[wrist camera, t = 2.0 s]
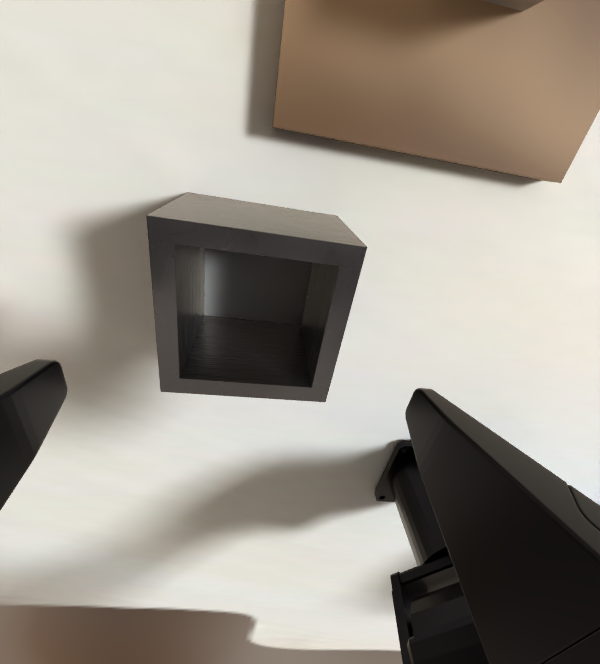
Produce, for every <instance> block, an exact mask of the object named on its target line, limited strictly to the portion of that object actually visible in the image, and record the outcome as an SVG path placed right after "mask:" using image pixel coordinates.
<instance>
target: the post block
mask: <svg viewBox="0 0 600 664" xmlns="http://www.w3.org/2000/svg"><path fill="white" fill-rule="evenodd" d="M599 110H600V0H285V7H284V18H283V28H282V38H281V48H280V58H279V68H278V79H277V89H276V99H275V109H274V119H273V128H277V129H282V130H287V131H293V132H298V133H303V134H308V135H313V136H318V137H323V138H328V139H333V140H338V141H344V142H349V143H354V144H359V145H364V146H369V147H374V148H379V149H384V150H390V151H395V152H400V153H405V154H410V155H415V156H420V157H425V158H430V159H435V160H441V161H446V162H451V163H456V164H461V165H466V166H471V167H476V168H481V169H486V170H492V171H497V172H502V173H507V174H512V175H517V176H522V177H527V178H532V179H537V180H543V181H550V182H558V183H561V182H562V180H563V178H564V176H565V174H566V172H567V171H568V169H569V167H570V165H571V163H572V161H573V159H574V157H575V155H576V153H577V151H578V150H579V148H580V146H581V144H582V142H583V140H584V138H585V136H586V134H587V132H588V131H589V129H590V127H591V125H592V123H593V121H594V119H595V117H596V115H597V113H598V112H599Z"/></svg>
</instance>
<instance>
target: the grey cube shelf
mask: <svg viewBox="0 0 600 664" xmlns="http://www.w3.org/2000/svg"><path fill="white" fill-rule="evenodd" d="M147 228H148V240H149V252H150V265H151V277H152V290H153V302H154V314H155V327H156V339H157V352H158V364H159V376H160V389H161V392H175V393H191V394H206V395H222V396H238V397H254V398H269V399H285V400H301V401H316V402H326V398H327V395H328V391H329V387H330V383H331V380H332V376H333V372H334V368H335V365H336V361H337V357H338V354H339V350H340V346H341V342H342V339H343V335H344V331H345V328H346V324H347V320H348V316H349V313H350V309H351V305H352V301H353V298H354V294H355V290H356V287H357V283H358V279H359V275H360V272H361V268H362V264H363V261H364V257H365V253H366V249H367V246H366V245H365V244H364V243H363V242H362V241H361V240H360V239H359V238H358V237H357V236H356V235H355V234H354V233H353V232H352V231H351V230H350V229H349V228H348V227H347V226H346V225H345V224H344V223H343V222H342V220H341V219H340V218H339V217H338V216H334V215H328V214H322V213H315V212H309V211H303V210H296V209H290V208H284V207H277V206H271V205H265V204H258V203H252V202H246V201H239V200H233V199H227V198H220V197H214V196H208V195H201V194H195V193H189V192H187V193H186V194H184V195H182V196H180V197H178V198H177V199H175V200H173V201H171V202H169V203H168V204H166V205H164V206H162V207H160V208H159V209H157V210H155V211H153V212H151V213H150V214H148V215H147ZM205 248H208V249H216V250H223V251H231V252H238V253H246V254H253V255H261V256H268V257H276V258H283V259H291V260H298V261H306V262H313V264H312V269H311V274H310V280H309V285H308V290H307V296H306V301H305V307H304V312H303V317H302V323H301V325H293V324H283V323H273V322H263V321H253V320H243V319H233V318H223V317H213V316H204V260H205Z"/></svg>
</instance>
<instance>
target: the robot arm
mask: <svg viewBox="0 0 600 664" xmlns="http://www.w3.org/2000/svg"><path fill="white" fill-rule="evenodd" d="M66 395H67V385H66V382H65V378H64V374H63V371H62V367H61V364H60V363H59V362H57V361H55V360H42V359H39V360H34V361H32V362H29V363H27V364H24V365H22V366H19V367H17V368H14V369H12V370H9V371H7V372H4V373H2V374H0V510H1V509H2V507H3V506H4V504H5V503H6V501H7V500H8V498H9V496H10V495H11V493H12V492H13V490H14V489H15V487H16V486H17V484H18V483H19V481H20V480H21V478H22V477H23V475H24V473H25V472H26V470H27V469H28V467H29V466H30V464H31V463H32V461H33V459H34V458H35V456H36V454H37V452H38V451H39V449H40V447H41V445H42V443H43V441H44V439H45V437H46V435H47V433H48V431H49V429H50V427H51V425H52V423H53V421H54V419H55V418H56V416H57V414H58V412H59V410H60V408H61V406H62V404H63V402H64V400H65V398H66ZM406 421H407V425H408V429H409V433H410V437H411V441H412V442H409V441H404V442H400V443H399V444H397V446H396V448H395V450H394V452H393V454H392V456H391V459H390V461H389V463H388V465H387V467H386V469H385V472H384V474H383V476H382V478H381V480H380V482H379V484H378V487H377V489H376V491H375V498H376V500H377V501H386V502H395V503H396V506H397V508H398V511H399V514H400V517H401V520H402V523H403V525H404V528H405V531H406V534H407V537H408V540H409V543H410V545H411V548H412V551H413V554H414V557H415V560H416V562H417V565H418V566H417V567H414V568H412V569H409V570H407V571H404V572H402V573H400V572H397V573H394V574H392V575H391V583H392V590H393V591H392V596H393V603H394V609H395V616H396V622H397V629H398V635H399V642H400V648H401V655H402V661H403V664H600V505H598V504H597V503H595V502H594V501H592V500H591V499H589V498H588V497H587V496H585V495H584V494H582V493H581V492H579V491H578V490H576V489H575V488H574V487H572V486H571V485H567V483H566V482H565V481H563V480H562V479H561V478H559V477H558V476H556V475H555V474H553V473H552V472H550V471H549V470H548V469H546V468H545V467H543V466H542V465H540V464H539V463H537V462H536V461H535V460H533V459H532V458H530V457H529V456H527V455H526V454H524V453H523V452H522V451H520V450H519V449H517V448H516V447H514V446H513V445H511V444H510V443H509V442H507V441H506V440H504V439H503V438H501V437H500V436H499V435H497V434H496V433H494V432H493V431H491V430H490V429H488V428H487V427H486V426H484V425H483V424H481V423H480V422H478V421H477V420H475V419H474V418H473V417H471V416H470V415H468V414H467V413H465V412H464V411H463V410H461V409H460V408H458V407H457V406H455V405H454V404H452V403H451V402H450V401H448V400H447V399H445V398H444V397H442V396H441V395H439V394H438V393H437V392H435V391H434V390H432V389H425V388H418V389H416V390H415V391H414V393H413V395H412V397H411V400H410V402H409V404H408V406H407V409H406Z"/></svg>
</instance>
